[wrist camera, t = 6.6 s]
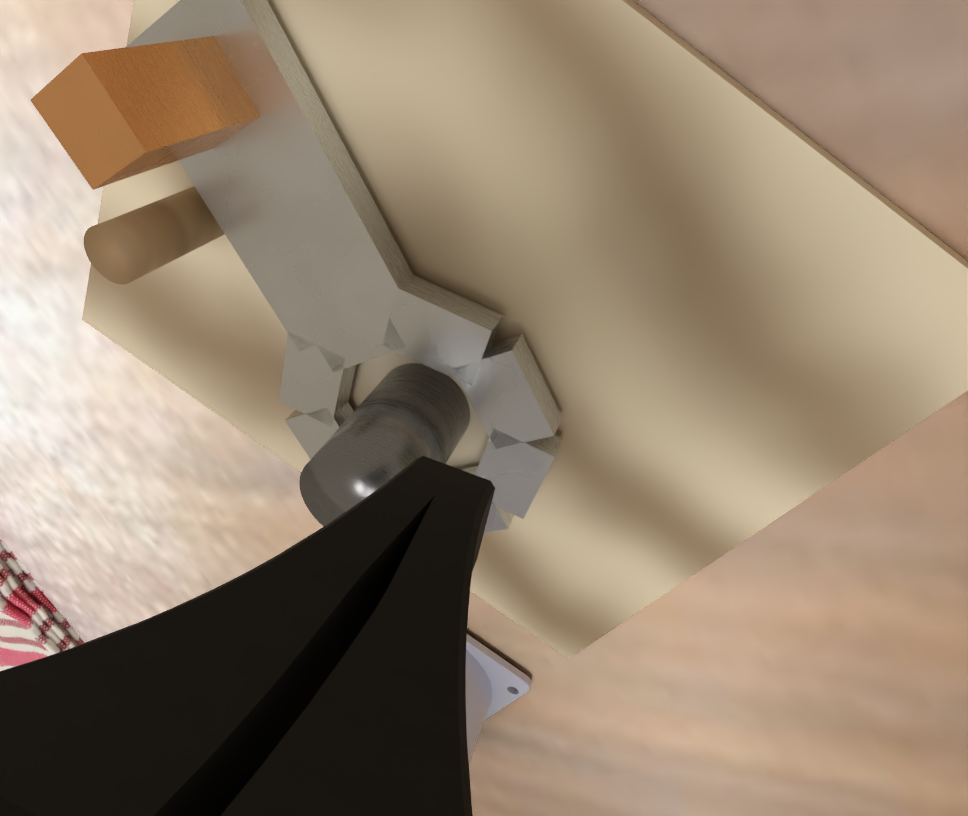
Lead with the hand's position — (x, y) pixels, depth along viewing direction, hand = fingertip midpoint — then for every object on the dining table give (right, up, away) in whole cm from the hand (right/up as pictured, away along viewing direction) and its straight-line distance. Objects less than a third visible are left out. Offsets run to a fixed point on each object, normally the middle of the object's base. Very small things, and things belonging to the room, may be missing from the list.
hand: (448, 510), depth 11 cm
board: (0, +5, +9) cm, 11 cm away
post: (-1, +2, +11) cm, 12 cm away
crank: (-3, +5, +9) cm, 11 cm away
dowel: (-8, +8, +10) cm, 15 cm away
